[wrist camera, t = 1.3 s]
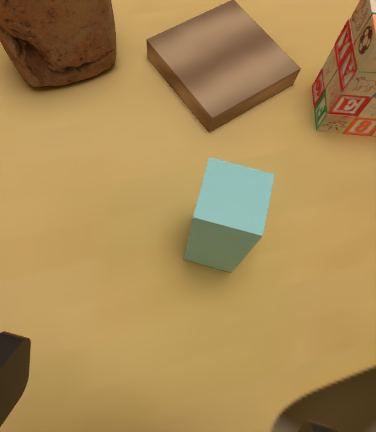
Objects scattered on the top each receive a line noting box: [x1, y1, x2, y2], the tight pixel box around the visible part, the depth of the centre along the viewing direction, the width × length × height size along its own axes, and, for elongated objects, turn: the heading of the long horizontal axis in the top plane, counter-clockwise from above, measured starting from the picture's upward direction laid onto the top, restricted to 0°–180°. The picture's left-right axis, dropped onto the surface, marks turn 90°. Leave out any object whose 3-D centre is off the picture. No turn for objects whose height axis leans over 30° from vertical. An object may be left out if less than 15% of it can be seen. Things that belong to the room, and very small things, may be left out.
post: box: [184, 157, 275, 272], centre depth 28 cm, size 4×4×11 cm
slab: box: [147, 0, 301, 133], centre depth 40 cm, size 12×12×3 cm
